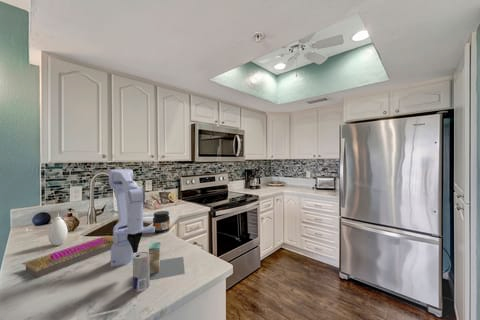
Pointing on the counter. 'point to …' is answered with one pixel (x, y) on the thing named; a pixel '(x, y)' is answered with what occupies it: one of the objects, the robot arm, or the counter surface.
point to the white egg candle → (57, 231)
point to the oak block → (154, 257)
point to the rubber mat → (169, 268)
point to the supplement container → (161, 221)
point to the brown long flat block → (68, 252)
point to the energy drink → (141, 271)
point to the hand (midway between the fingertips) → (135, 251)
